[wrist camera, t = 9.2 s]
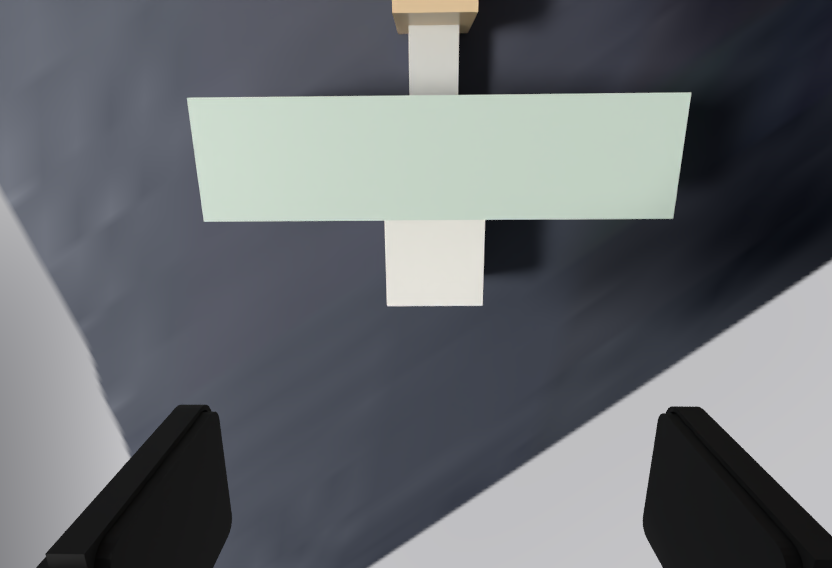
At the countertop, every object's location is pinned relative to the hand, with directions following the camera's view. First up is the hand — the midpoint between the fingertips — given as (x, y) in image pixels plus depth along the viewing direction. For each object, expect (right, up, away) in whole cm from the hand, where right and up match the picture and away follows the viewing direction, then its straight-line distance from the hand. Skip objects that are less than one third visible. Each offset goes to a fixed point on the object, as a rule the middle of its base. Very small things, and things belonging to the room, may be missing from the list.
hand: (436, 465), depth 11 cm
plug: (0, +11, +12) cm, 16 cm away
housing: (0, +10, +13) cm, 16 cm away
